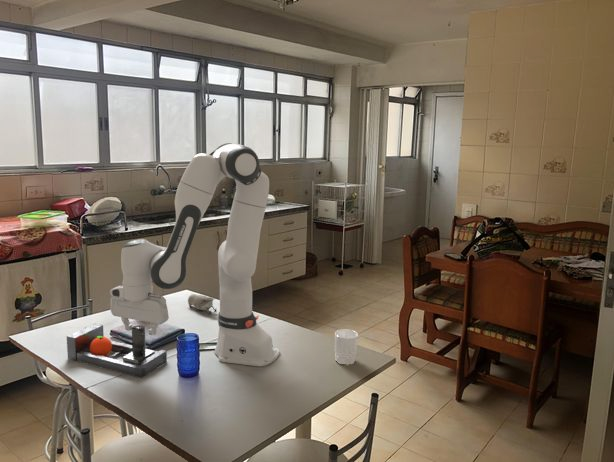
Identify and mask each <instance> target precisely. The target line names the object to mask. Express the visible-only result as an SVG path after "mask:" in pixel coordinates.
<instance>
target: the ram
mask: <svg viewBox="0 0 614 462" xmlns="http://www.w3.org/2000/svg"><path fill="white" fill-rule="evenodd" d="M131 342H132V344H131V345H132V352H131V353H129V354H128V355H124V356H122V361H124V362H128V363H132V364H136V365H137V364H138V363H140V362H142V361H143V360H145V359H147V358H148V357H150V356H152V355H153V354H155V351H156V350H153V349H149V350H148V348H146V326H145V325H139V324H138V325H134V326H133V325H132V330H131Z"/></svg>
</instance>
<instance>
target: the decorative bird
mask: <svg viewBox="0 0 614 462" xmlns="http://www.w3.org/2000/svg"><path fill="white" fill-rule="evenodd" d="M215 299H216V298H215V297H211V296H205V295H201V294H200V295H199V294H195V293H191V294H190V295H189V296H188V299H187V304H188V306H189V307H191V306H194V307H195V308H196V310H198V311H199V310H200V311H208V312H209V313H208V316H210V315H211V314H215V313H217V308H215V307H214V306H213V305H214V303H213V301H214V300H215ZM211 308H212V309H213V310H214V311H213V313H212V310H210V309H211Z"/></svg>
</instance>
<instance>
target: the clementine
mask: <svg viewBox="0 0 614 462" xmlns="http://www.w3.org/2000/svg"><path fill="white" fill-rule="evenodd" d="M111 341H112V340H111ZM111 341H110V339H109V338H108V337H106V336H104V337H102V336H97V337H96V338H95V339H94V340H93V341H92V342H91V344H90V352H91V353H92V354H96V355H100V356H104V357H107V356H108V355H110V353H111V350H112V343H111Z"/></svg>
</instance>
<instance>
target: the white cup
mask: <svg viewBox="0 0 614 462" xmlns="http://www.w3.org/2000/svg"><path fill="white" fill-rule="evenodd" d="M358 338H359V334H358V332H357V331H355V330H352V329H347V328H342V329H337V330H336V331H335V332H334V361H335V360H336V361H337V362H338V363H341V364H351V363H353V364H355V363H354V362H356V355H357V348H358ZM336 361H335V362H336ZM337 362H336V363H337ZM338 363H337V364H338ZM351 365H352V364H351Z"/></svg>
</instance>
